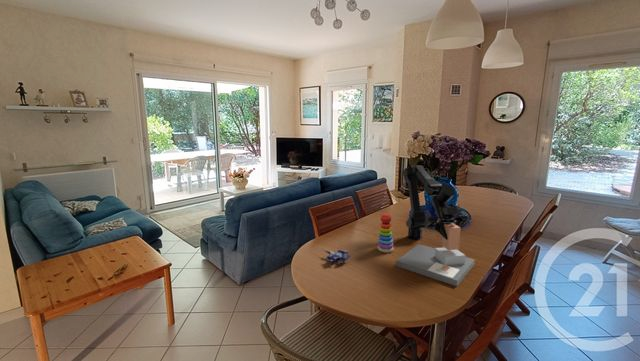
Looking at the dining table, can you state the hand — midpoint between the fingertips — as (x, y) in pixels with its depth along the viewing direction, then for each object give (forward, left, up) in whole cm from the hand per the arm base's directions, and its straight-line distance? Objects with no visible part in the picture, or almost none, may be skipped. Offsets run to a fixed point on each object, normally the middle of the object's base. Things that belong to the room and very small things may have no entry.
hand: (452, 238), depth 131 cm
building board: (-5, -3, -13) cm, 14 cm away
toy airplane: (-42, -28, -13) cm, 53 cm away
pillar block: (-1, +1, -5) cm, 5 cm away
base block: (-1, +1, -10) cm, 11 cm away
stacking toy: (-30, -3, -13) cm, 33 cm away
